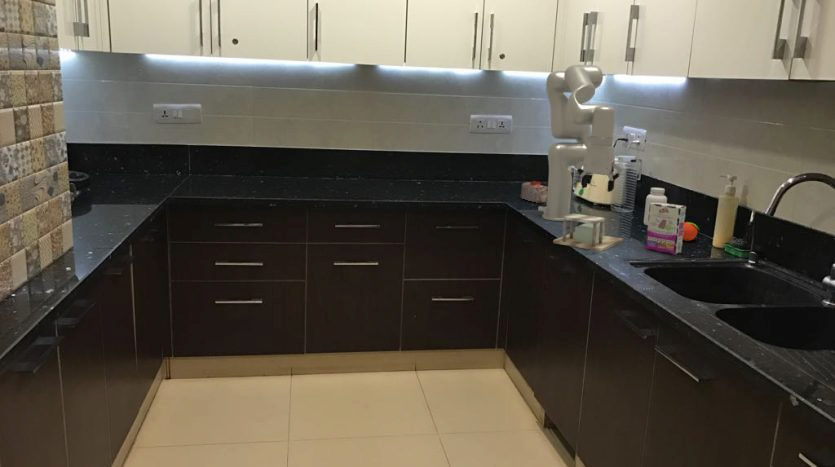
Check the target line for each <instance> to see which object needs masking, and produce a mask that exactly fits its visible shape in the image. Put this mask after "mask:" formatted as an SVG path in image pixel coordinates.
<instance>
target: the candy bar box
mask: <svg viewBox="0 0 835 467" xmlns="http://www.w3.org/2000/svg"><path fill="white" fill-rule="evenodd" d="M686 211H687V206H686V205H680V204H673V203H668V202H667V203H660V202H653V203H650V207H649V218H648V225H647V228H646V229H647V230H646V240H645V250H648V251H649V250H650V251H654V252H659V253H663V254H664V253H665V254H668V255H674V256H675V255H679V254H682V249H683V241H684V240H683V232H684V223H685V221H686Z"/></svg>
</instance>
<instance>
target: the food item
mask: <svg viewBox="0 0 835 467" xmlns="http://www.w3.org/2000/svg"><path fill="white" fill-rule="evenodd" d="M541 184H542V183H541V182H540V181H538V180H537V181H536V180H533V181H531V182H529V181H527V182H524V183H523V182H522V184H521V192H520V199H521V198H522V199H525V200H528V201H532V202H531V203H533V202H536V203H535V204H537V203H540V204H546V203H547V195H548V186H545V185H541ZM522 199H521V200H522ZM525 200H524V201H525ZM528 201H527V202H528ZM545 202H546V203H545Z"/></svg>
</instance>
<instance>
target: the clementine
mask: <svg viewBox="0 0 835 467" xmlns="http://www.w3.org/2000/svg"><path fill="white" fill-rule="evenodd" d="M698 230H700V228H699V227H698V225H696V223H693V222H690V221H686V222H685V223H684V232H683V241H685V242H688V241H689V242H690V241H692V240H694V239H695V238H696V237H697V235H698Z"/></svg>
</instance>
